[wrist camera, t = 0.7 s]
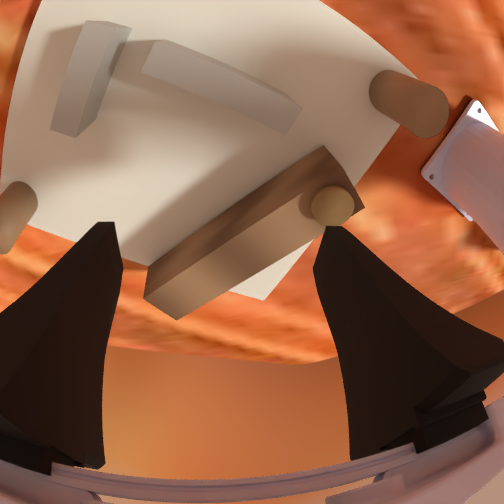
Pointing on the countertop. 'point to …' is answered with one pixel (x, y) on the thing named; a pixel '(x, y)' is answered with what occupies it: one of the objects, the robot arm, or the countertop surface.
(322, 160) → the hinged leg
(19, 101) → the white block puzzle board
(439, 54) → the countertop surface
